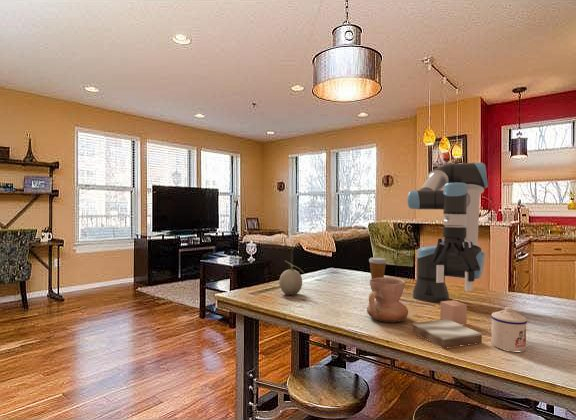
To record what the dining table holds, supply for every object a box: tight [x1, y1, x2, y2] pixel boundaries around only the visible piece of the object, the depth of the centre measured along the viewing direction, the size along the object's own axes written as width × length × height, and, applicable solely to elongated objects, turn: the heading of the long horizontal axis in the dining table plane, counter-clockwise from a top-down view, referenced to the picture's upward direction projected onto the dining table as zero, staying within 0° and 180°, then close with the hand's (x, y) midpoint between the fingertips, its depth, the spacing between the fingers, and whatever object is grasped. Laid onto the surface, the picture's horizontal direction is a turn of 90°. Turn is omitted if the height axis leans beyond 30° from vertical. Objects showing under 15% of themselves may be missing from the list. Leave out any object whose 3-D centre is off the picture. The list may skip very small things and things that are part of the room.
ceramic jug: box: [366, 276, 409, 323], centre depth 129 cm, size 18×14×14 cm
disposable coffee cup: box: [368, 256, 387, 280], centre depth 195 cm, size 10×10×12 cm
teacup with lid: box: [490, 306, 528, 352], centre depth 105 cm, size 12×9×12 cm
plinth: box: [412, 319, 483, 349], centre depth 112 cm, size 14×14×3 cm
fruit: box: [278, 260, 305, 296], centre depth 163 cm, size 10×12×15 cm
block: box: [439, 299, 468, 324], centre depth 126 cm, size 6×6×7 cm
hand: (453, 286), depth 125 cm, fingers open, 13 cm apart
